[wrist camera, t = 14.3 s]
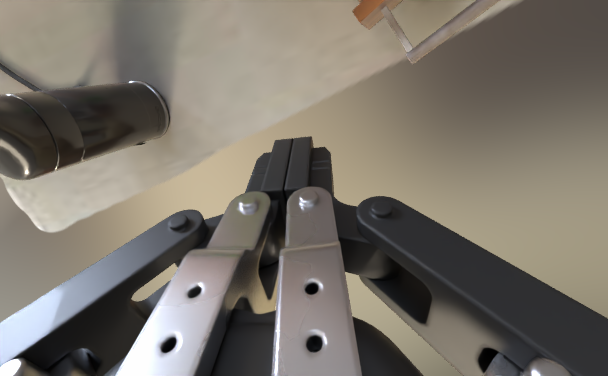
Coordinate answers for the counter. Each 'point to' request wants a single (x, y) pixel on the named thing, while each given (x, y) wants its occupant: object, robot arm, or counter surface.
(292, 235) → the robot arm
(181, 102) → the counter surface
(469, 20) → the drawer
